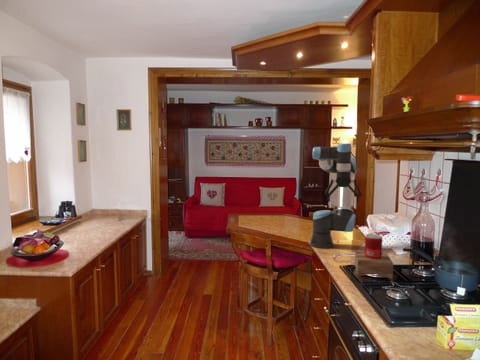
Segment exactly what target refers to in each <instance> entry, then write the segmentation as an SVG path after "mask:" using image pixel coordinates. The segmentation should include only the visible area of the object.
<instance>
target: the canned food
mask: <svg viewBox="0 0 480 360" xmlns="http://www.w3.org/2000/svg"><path fill="white" fill-rule="evenodd" d="M364 238H365V239H364V240H365V241H364V252H365V256H366V257H367V258H371V259H380V258H381V256H382V253H383V236H382V235H379V234H374V233H368V234H365V236H364Z"/></svg>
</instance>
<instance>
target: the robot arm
mask: <svg viewBox="0 0 480 360" xmlns="http://www.w3.org/2000/svg"><path fill="white" fill-rule="evenodd" d="M312 159H313V160H318V166H319V167H320V169H322V171H325V172H326V173H329V174H336V178H335V179H332V178H331V179H330V183H329V184H328V187H326V189H325V192H324V196H327V202H328V203H329V208H330V209H331V208H332V195H333V193H334V192H336V190H337V189H338V190H337V195H338V196H337V208H336V209H335V211H334V212H332V210H329V209H327V210H326V209H324V210H323V209H322V210H317V211H315V212H313V216H312V234H311V238H310V241H309V245H310V246H311V247H313V248H317V249H330V248H333V247H334V242H333V237H332V235H331V234H332V233H331V232H333V231H334V232H344V233H351V232H353V231H354V228H355V223H356V217H357V216H356V214H355V213H354V210H352V193H353V195H354V197H353V198H354V202H353V203H354V204H353V207H354V209H355V210H356V209H357V203H359V197H362V196H363V194H362V192H361V190H360V188H359V185H358V183H357V179H356V178H355V179H353V177H354V176H355V175H356V174H357V161H356V158H355V157H354V156H353V157H352V144H351V143H338V144H337V146H314V147H313V148H312ZM334 183H336V185H335V186H334V187H333V188H332V186H333V184H334ZM352 184H353V185H354V187H355V188H356V191H355V190H354V188H353V185H352ZM331 188H332V189H331ZM330 189H331V190H330Z"/></svg>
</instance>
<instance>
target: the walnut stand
mask: <svg viewBox="0 0 480 360" xmlns="http://www.w3.org/2000/svg"><path fill="white" fill-rule="evenodd" d="M354 267H356V268H355V272H356V271H357V272H356V274H357V275H356V276H357V277H361V276H362V275H364V274H378V275H381V276H385V277H387V278H389V279H388V280H393V279H394V278H393V277H394V262H393V260H392V259H391V258H390V256H389V254H388V253H384V252H382V256H381V258H380V259H371V258H367V257H366V256H365V251H357V250H356V251H354Z"/></svg>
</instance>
